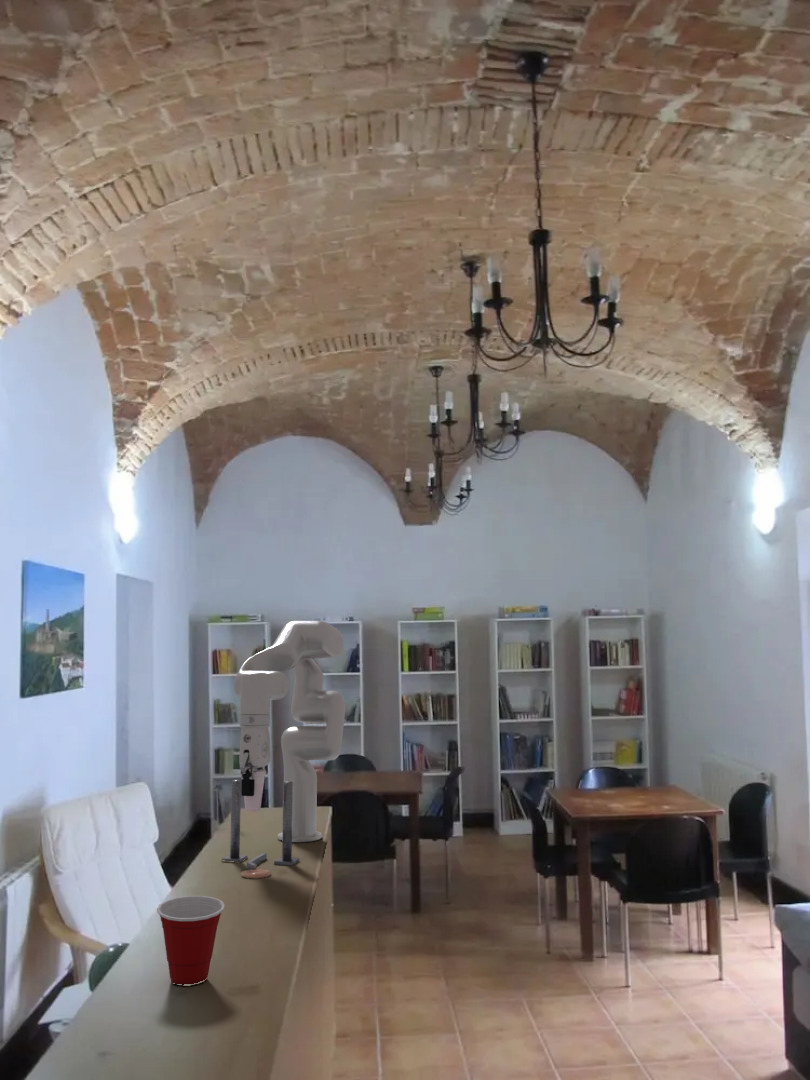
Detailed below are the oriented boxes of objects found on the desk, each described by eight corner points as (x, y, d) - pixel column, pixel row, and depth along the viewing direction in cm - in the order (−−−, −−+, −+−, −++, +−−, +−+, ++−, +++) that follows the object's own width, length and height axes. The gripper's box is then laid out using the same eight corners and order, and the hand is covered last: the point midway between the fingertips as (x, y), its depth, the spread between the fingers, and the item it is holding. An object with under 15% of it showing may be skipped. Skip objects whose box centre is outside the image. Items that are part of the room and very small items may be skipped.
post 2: (280, 860, 237) (282, 780, 239) (299, 861, 236) (300, 780, 238) (274, 864, 232) (275, 783, 235) (292, 865, 231) (294, 783, 234)
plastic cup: (155, 996, 143) (157, 915, 145) (153, 973, 153) (156, 898, 155) (226, 989, 146) (228, 910, 148) (220, 967, 156) (221, 893, 158)
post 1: (229, 857, 240) (231, 778, 242) (247, 858, 239) (249, 779, 241) (221, 861, 235) (223, 781, 238) (240, 862, 234) (241, 781, 237)
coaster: (247, 871, 225) (247, 868, 225) (274, 872, 224) (274, 869, 224) (236, 877, 218) (236, 875, 218) (264, 879, 217) (264, 876, 217)
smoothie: (261, 812, 228) (263, 754, 230) (236, 812, 228) (237, 754, 230) (268, 808, 234) (269, 752, 236) (243, 807, 235) (244, 751, 237)
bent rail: (263, 858, 239) (263, 852, 239) (275, 859, 238) (275, 853, 238) (242, 871, 225) (242, 864, 225) (255, 871, 224) (255, 865, 225)
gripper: (256, 723, 225) (254, 799, 223) (280, 719, 242) (279, 789, 239) (227, 723, 226) (225, 798, 224) (253, 718, 243) (251, 788, 241)
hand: (253, 793), depth 232 cm, fingers closed on smoothie, 6 cm apart
